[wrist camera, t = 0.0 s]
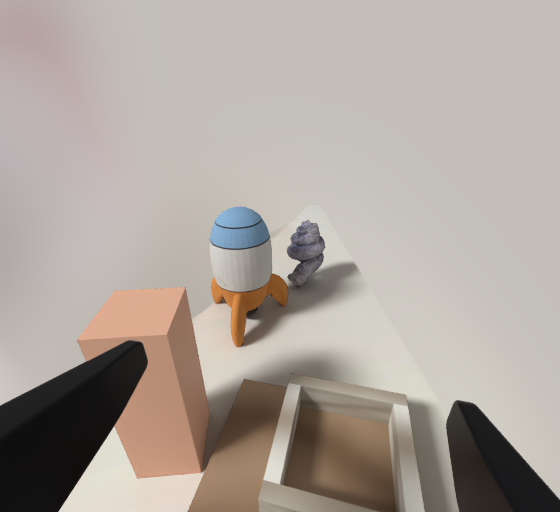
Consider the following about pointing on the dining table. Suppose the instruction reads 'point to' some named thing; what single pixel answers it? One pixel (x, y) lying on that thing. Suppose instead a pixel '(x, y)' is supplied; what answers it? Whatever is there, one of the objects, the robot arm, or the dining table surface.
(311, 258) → the seashell
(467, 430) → the robot arm
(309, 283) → the dining table surface
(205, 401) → the post
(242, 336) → the toy rocket
